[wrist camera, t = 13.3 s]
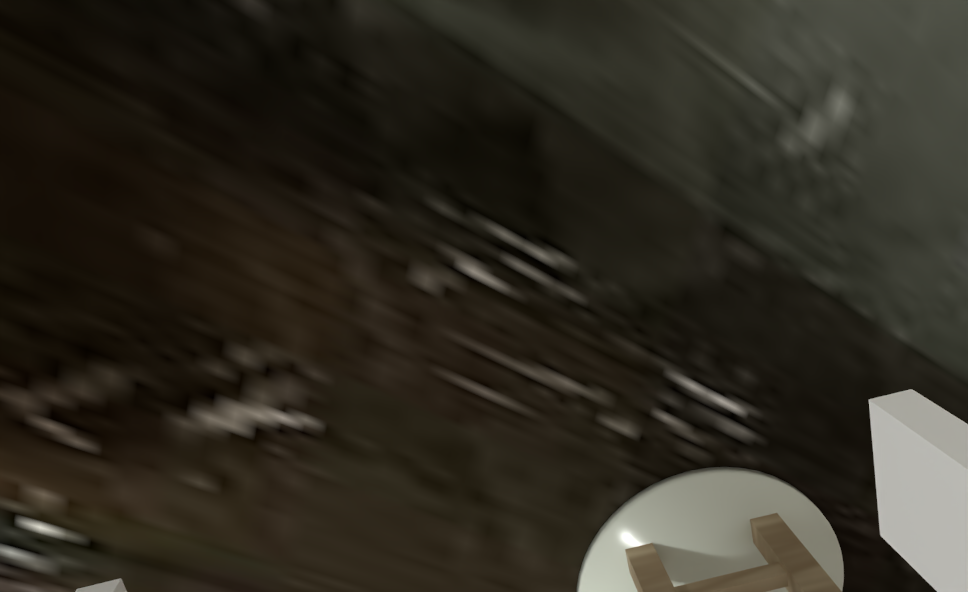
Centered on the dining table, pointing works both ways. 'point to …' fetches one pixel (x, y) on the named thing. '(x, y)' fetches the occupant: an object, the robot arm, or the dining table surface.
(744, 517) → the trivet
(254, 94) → the dining table surface
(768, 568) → the stool
